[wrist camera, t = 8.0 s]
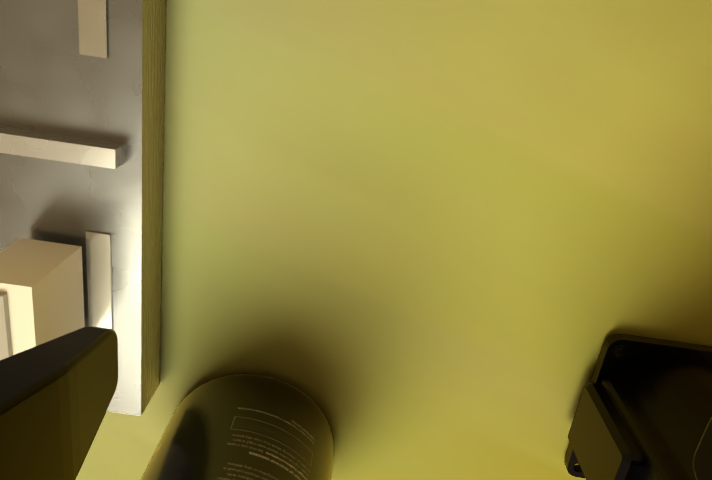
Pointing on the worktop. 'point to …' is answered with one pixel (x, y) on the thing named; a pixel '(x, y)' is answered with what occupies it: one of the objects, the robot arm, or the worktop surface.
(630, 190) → the worktop surface
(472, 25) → the worktop surface
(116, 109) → the breaker panel
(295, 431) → the supplement bottle
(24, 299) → the ivory toggle
